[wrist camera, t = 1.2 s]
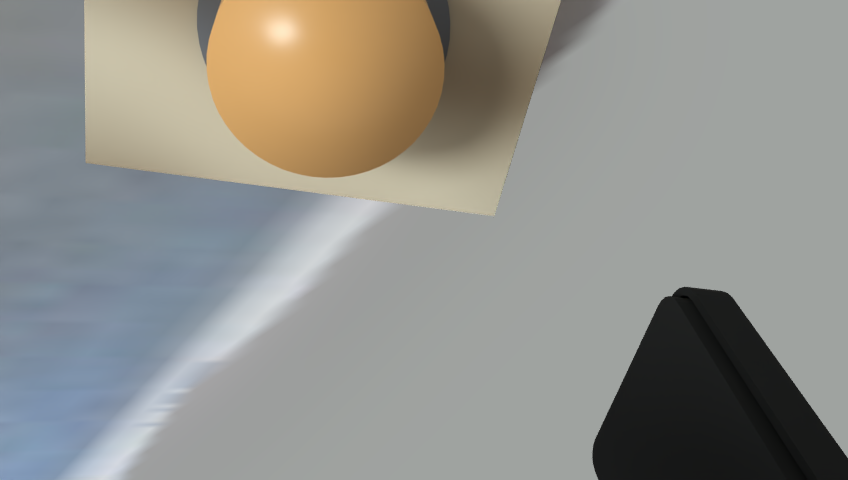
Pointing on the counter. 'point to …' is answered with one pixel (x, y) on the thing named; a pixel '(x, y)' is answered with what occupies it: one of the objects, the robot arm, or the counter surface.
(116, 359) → the counter surface
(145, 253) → the counter surface
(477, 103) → the button panel
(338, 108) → the orange button
